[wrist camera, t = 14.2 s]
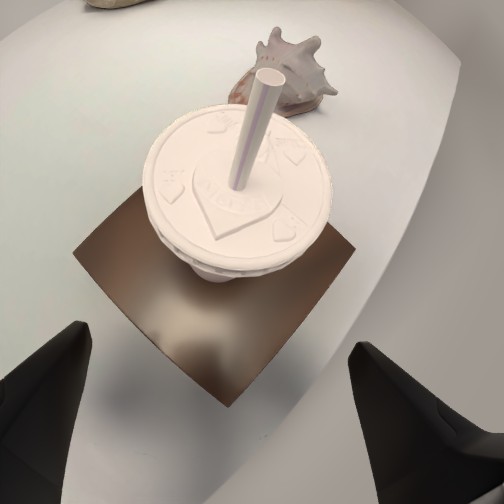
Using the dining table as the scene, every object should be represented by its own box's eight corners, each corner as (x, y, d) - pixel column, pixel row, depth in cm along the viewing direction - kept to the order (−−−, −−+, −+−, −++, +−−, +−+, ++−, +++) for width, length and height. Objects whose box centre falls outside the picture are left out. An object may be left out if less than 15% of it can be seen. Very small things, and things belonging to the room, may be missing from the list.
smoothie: (151, 283, 17) (41, 134, 3) (189, 193, 19) (199, -11, 5) (250, 318, 17) (415, 269, 4) (279, 226, 19) (404, 62, 6)
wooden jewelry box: (332, 262, 24) (356, 248, 20) (222, 394, 19) (228, 408, 15) (212, 155, 24) (216, 127, 21) (91, 266, 20) (71, 252, 16)
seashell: (338, 102, 30) (373, 47, 21) (284, 153, 26) (321, 83, 17) (272, 59, 30) (292, 2, 21) (206, 99, 26) (215, 25, 17)
